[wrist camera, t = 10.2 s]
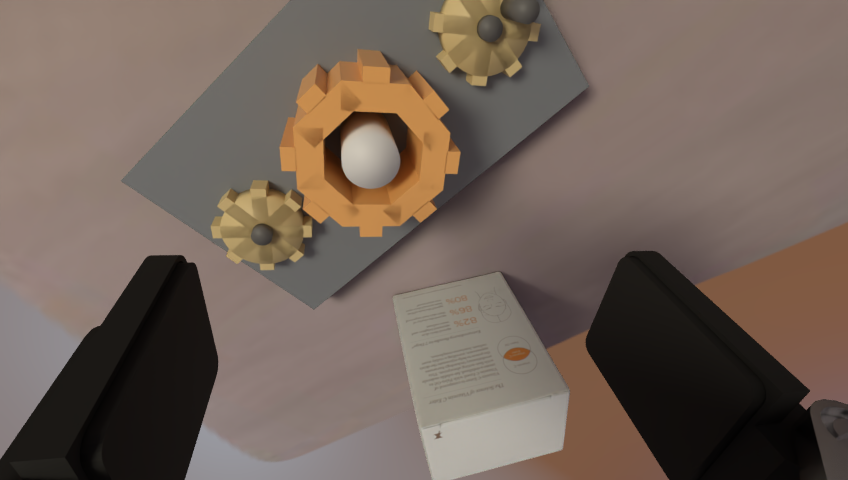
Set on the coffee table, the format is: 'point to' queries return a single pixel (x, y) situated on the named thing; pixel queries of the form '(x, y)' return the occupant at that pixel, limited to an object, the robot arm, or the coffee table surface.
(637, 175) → the coffee table surface
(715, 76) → the coffee table surface
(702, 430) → the robot arm
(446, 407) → the small box
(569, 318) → the coffee table surface
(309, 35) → the board
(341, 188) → the gear
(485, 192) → the coffee table surface
